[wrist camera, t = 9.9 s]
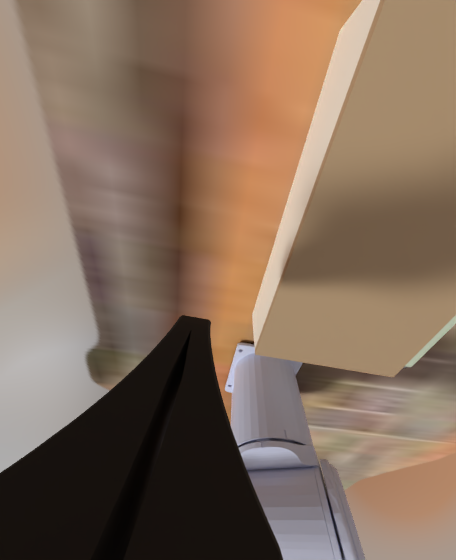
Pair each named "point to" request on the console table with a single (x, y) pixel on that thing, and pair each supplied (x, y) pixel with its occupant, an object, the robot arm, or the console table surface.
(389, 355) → the beige flat box
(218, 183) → the console table surface
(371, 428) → the console table surface
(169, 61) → the console table surface
